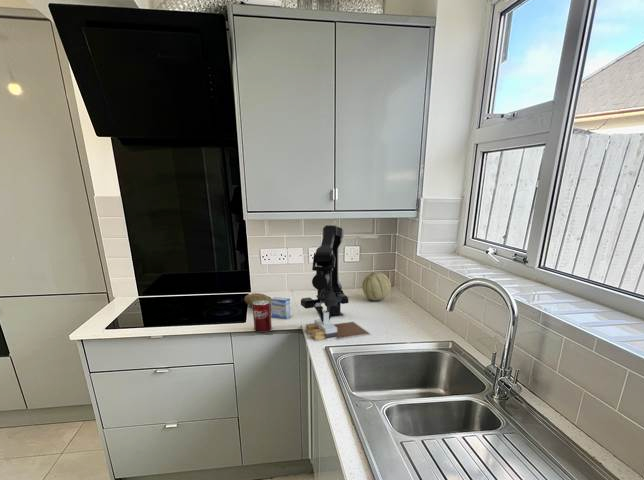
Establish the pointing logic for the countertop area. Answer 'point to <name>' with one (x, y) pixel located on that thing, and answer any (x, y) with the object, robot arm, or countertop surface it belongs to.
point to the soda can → (262, 316)
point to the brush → (326, 325)
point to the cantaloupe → (376, 286)
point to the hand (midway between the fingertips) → (325, 321)
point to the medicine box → (280, 307)
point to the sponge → (257, 298)
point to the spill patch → (349, 330)
